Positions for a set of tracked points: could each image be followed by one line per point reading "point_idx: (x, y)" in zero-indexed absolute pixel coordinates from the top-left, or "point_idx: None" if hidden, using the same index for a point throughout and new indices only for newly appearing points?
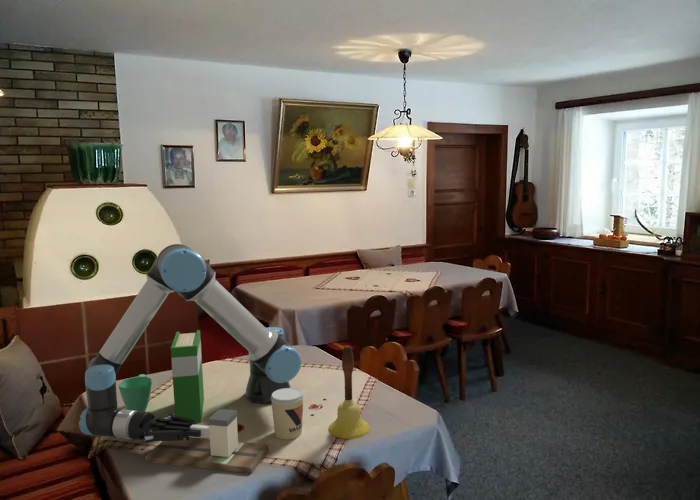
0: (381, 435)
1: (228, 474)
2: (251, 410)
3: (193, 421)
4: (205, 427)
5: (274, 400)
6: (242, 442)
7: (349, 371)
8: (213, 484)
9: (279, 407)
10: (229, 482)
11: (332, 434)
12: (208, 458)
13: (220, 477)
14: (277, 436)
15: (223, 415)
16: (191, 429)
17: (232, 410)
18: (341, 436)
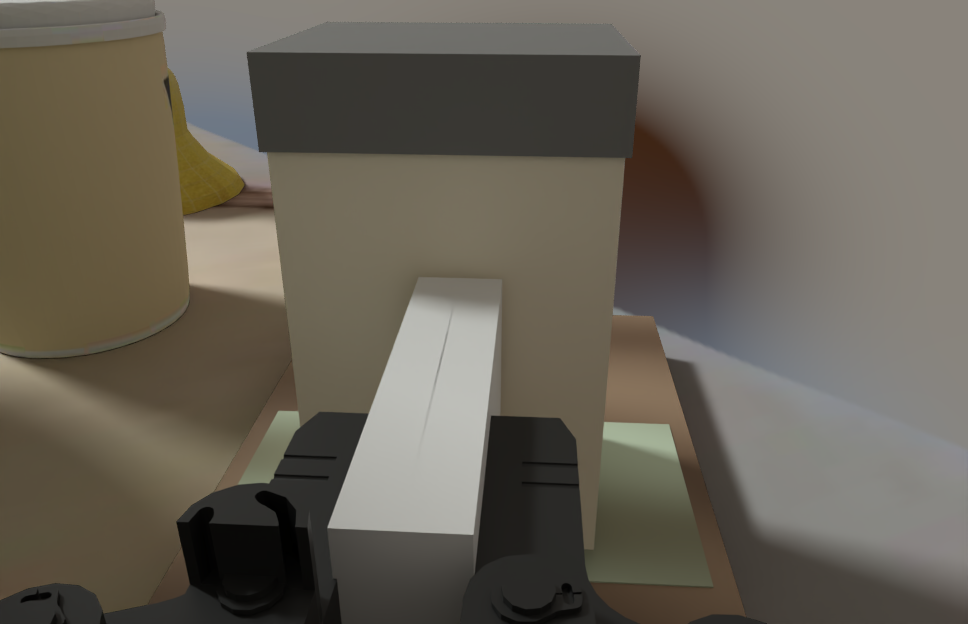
0: (235, 152)
1: (723, 445)
2: None
3: (249, 490)
4: (461, 337)
5: (80, 25)
6: (260, 424)
7: None
8: (913, 486)
9: (142, 69)
10: (815, 416)
11: (188, 210)
12: (633, 578)
13: (793, 475)
14: (139, 332)
15: (478, 34)
16: (489, 546)
17: (324, 26)
18: (227, 191)
